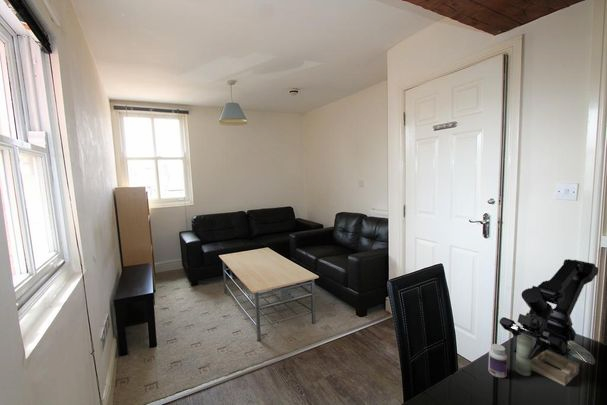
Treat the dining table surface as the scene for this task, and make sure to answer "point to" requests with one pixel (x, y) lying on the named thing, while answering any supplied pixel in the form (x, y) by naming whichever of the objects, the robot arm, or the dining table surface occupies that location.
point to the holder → (560, 376)
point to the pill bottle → (497, 361)
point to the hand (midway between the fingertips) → (521, 355)
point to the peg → (523, 355)
